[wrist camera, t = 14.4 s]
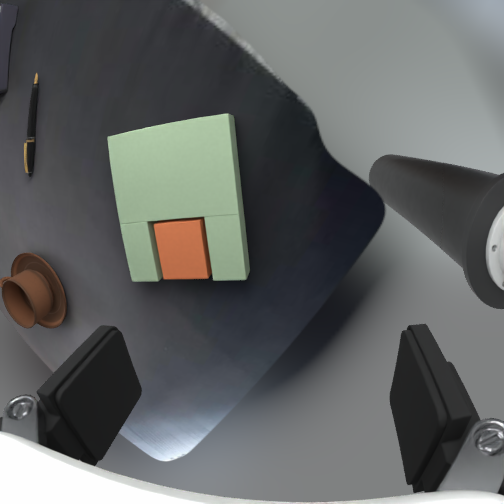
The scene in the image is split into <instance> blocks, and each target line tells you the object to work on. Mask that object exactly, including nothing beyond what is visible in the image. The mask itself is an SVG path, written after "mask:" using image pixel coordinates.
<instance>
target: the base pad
mask: <svg viewBox="0 0 504 504" xmlns="http://www.w3.org/2000/svg"><path fill="white" fill-rule="evenodd" d="M108 147H109V155H110V163H111V171H112V178H113V184H114V191H115V197H116V203H117V209H118V215H119V220H120V226H121V231H122V236H123V241H124V246H125V251H126V256H127V260H128V265H129V269H130V273H131V278H132V281H159V280H160V279H161V278H162V277H163V272H162V267H161V262H160V257H159V252H158V247H157V241H156V236H155V230H154V224H155V223H157V221H159V220H170V219H182V218H195V217H204V218H205V226H206V233H207V240H208V247H209V254H210V261H211V268H212V274H213V280H214V281H219V280H246V279H247V277H248V274H249V272H250V266H249V257H248V247H247V238H246V228H245V219H244V210H243V200H242V191H241V181H240V172H239V162H238V152H237V143H236V133H235V123H234V116H232V115H230V114H222V115H215V116H208V117H202V118H196V119H190V120H184V121H179V122H173V123H168V124H163V125H158V126H153V127H148V128H144V129H139V130H135V131H130V132H126V133H122V134H118V135H114V136H110V137H108Z"/></svg>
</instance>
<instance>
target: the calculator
mask: <svg viewBox="0 0 504 504" xmlns="http://www.w3.org/2000/svg"><path fill="white" fill-rule="evenodd" d="M17 10H18V6H16V5H11V4H6V3H2V4H0V94H2V93H4V92H6V91H7V82H8V63H9V51H10V41H11V33H12V29H13V27H14V26H15V23H16V17H17Z"/></svg>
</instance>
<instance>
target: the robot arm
mask: <svg viewBox="0 0 504 504" xmlns="http://www.w3.org/2000/svg"><path fill="white" fill-rule="evenodd" d="M486 264H487V269H488V272H489V275H490V277H491V278H492V280H493V281H494V282H495V284H496V285H497V286H498V287H500V288H501V289H502V290H504V206H503V208H502V209H501V210H500V211H499V213H498V214H497V216H496V218H495V219H494V221H493V224H492V226H491V228H490V231H489V235H488V238H487V245H486ZM141 392H142V390H141V386H140V383H139V380H138V378H137V375H136V372H135V370H134V367H133V364H132V361H131V358H130V356H129V353H128V350H127V347H126V344H125V341H124V338H123V335H122V333H121V332H120V331H119V330H118V329H117V327H115V326H100V327H99V328H98V329H97V330H96V331H95V332H94V333H93V334H92V335H91V336H90V337H89V338H88V339H87V340H86V341H85V342H84V343H83V344H82V345H81V346H80V347H79V348H78V349H77V350H76V351H75V352H74V353H73V354H72V355H71V356H70V357H69V358H68V359H67V360H66V361H65V362H64V363H63V364H62V365H61V366H60V367H59V368H58V369H57V370H56V371H55V372H54V374H53V375H52V376H51V377H50V378H49V379H48V380H47V381H46V382H45V383H44V384H43V385H42V386H41V387H40V389H39V390H38V391H37V394H38V396H39V397H40V400H39V402H38V401H37V400H36V399H35V397H33V396H31V395H20V396H17V397H15V398H13V399H12V400H11V401H9V402H8V403H7V405H6V406H5V408H4V411H3V417H1V418H0V504H504V421H501V420H499V419H494V418H489V419H483V420H480V418H479V416H478V414H477V411H476V409H475V407H474V405H473V403H472V401H471V399H470V397H469V395H468V393H467V391H466V389H465V387H464V385H463V383H462V381H461V379H460V377H459V375H458V373H457V371H456V369H455V367H454V365H453V364H452V363H451V362H447V361H446V359H445V358H444V356H443V354H442V352H441V350H440V348H439V346H438V344H437V342H436V341H435V339H434V337H433V335H432V333H431V332H430V330H429V328H428V326H427V325H426V324H419V325H409V326H408V328H407V330H404V331H402V333H401V339H400V345H399V351H398V356H397V362H396V367H395V372H394V377H393V382H392V387H391V391H390V405H391V409H392V414H393V418H394V422H395V427H396V431H397V436H398V440H399V446H400V451H401V455H402V460H403V466H404V471H405V477H406V482H407V484H408V485H411V484H412V486H413V492H414V493H416V492H421V491H425V493H419V494H411V495H403V496H394V497H387V498H378V499H367V500H355V501H336V502H276V501H259V500H248V499H238V498H228V497H221V496H213V495H207V494H201V493H195V492H190V491H184V490H179V489H174V488H170V487H165V486H161V485H156V484H152V483H148V482H144V481H141V480H137V479H133V478H130V477H126V476H123V475H120V474H116V473H113V472H110V471H107V470H104V469H101V468H98V467H95V465H96V464H97V462H98V461H99V460H102V459H103V457H104V455H105V454H106V452H107V450H108V449H109V447H110V446H111V444H112V442H113V441H114V439H115V437H116V436H117V434H118V432H119V431H120V429H121V427H122V426H123V424H124V423H125V421H126V419H127V418H128V416H129V414H130V413H131V411H132V409H133V408H134V406H135V405H136V403H137V401H138V400H139V398H140V396H141ZM79 459H80V460H81V461H82V462H81V461H79Z"/></svg>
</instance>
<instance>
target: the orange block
mask: <svg viewBox="0 0 504 504" xmlns="http://www.w3.org/2000/svg"><path fill="white" fill-rule="evenodd" d="M154 230H155V236H156V241H157V247H158V252H159V257H160V262H161V267H162V272H163V277H164V279H208V278H209V276H210V275H211V273H212V268H211V261H210V254H209V247H208V240H207V233H206V226H205V218H204V217H195V218H182V219H170V220H160V221H159V222H157V223H155V224H154Z"/></svg>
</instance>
